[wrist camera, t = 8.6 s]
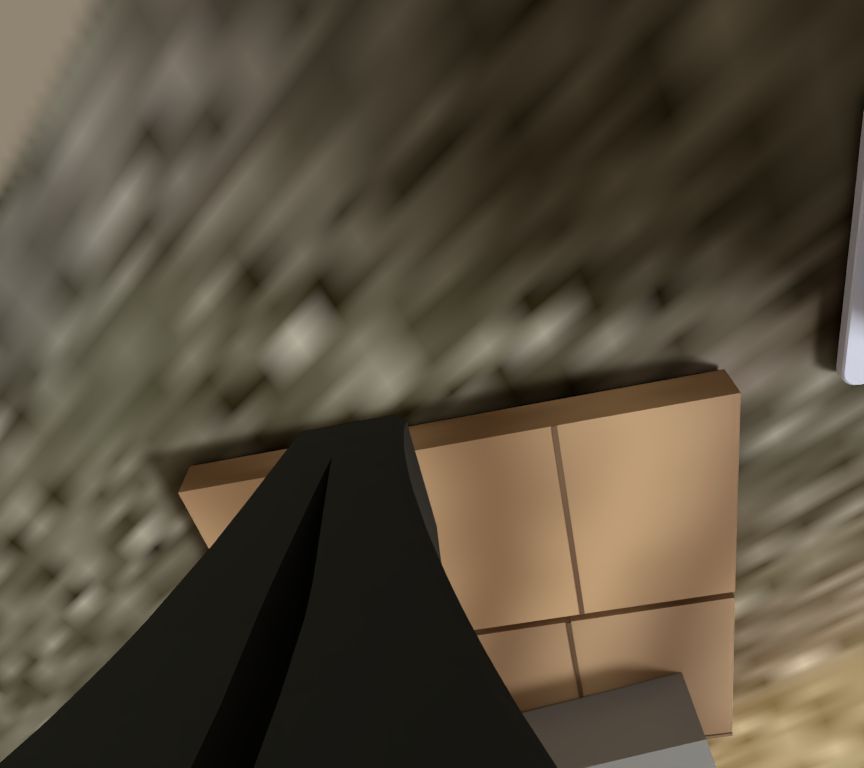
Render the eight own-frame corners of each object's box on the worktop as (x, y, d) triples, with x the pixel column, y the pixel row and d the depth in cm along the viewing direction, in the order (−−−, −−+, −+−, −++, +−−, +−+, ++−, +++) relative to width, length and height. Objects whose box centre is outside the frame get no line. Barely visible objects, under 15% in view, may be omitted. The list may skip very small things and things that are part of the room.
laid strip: (721, 569, 24) (735, 598, 23) (720, 706, 28) (732, 735, 27) (279, 637, 26) (272, 666, 25) (340, 756, 30) (336, 785, 29)
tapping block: (681, 672, 25) (706, 739, 23) (697, 718, 26) (722, 784, 24) (498, 718, 26) (505, 786, 24) (523, 759, 28) (531, 826, 26)
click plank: (276, 631, 25) (270, 660, 24) (189, 466, 21) (177, 493, 20) (721, 563, 24) (735, 592, 23) (724, 369, 20) (740, 393, 18)
